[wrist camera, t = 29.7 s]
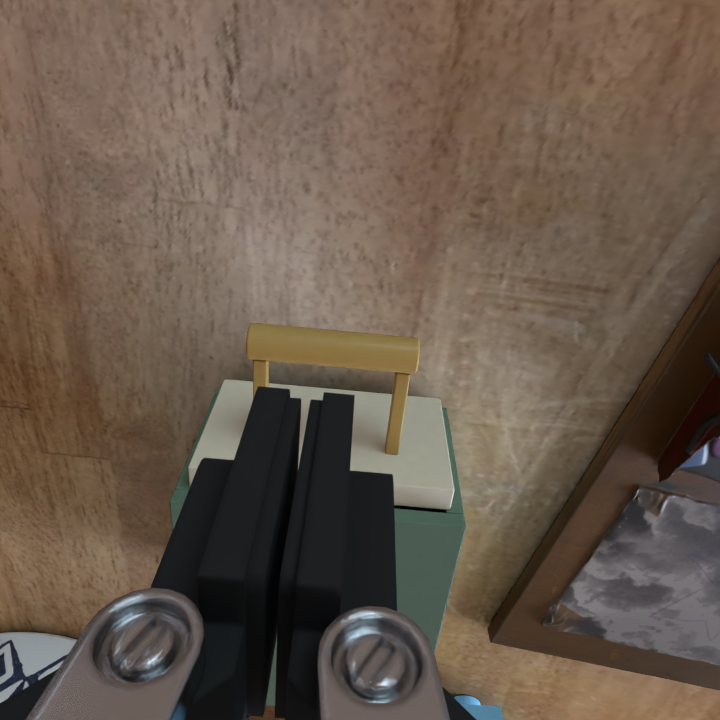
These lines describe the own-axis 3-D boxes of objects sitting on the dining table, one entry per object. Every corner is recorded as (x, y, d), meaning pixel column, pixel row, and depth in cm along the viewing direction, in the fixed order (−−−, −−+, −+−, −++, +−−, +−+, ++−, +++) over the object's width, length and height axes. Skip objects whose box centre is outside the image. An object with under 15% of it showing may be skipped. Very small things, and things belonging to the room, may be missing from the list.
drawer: (221, 274, 29) (178, 346, 23) (460, 296, 29) (481, 374, 23) (229, 556, 38) (201, 659, 32) (407, 571, 39) (412, 676, 33)
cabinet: (217, 387, 33) (168, 501, 25) (446, 407, 33) (466, 527, 26) (224, 569, 40) (188, 700, 33) (411, 584, 41) (418, 718, 33)
